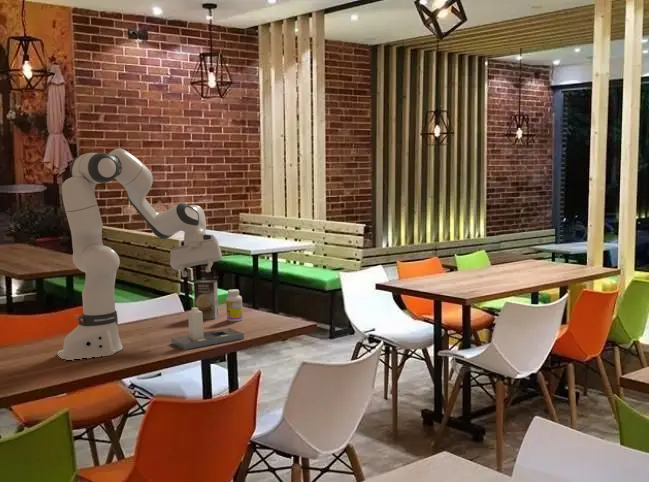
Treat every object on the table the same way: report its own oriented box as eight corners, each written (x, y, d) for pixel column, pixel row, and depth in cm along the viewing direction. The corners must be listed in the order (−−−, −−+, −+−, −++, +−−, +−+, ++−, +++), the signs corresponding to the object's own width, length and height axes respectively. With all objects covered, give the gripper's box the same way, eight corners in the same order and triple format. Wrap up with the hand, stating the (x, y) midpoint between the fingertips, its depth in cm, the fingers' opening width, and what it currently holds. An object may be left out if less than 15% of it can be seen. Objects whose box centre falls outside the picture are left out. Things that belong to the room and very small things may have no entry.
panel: (184, 350, 254) (183, 343, 254) (171, 343, 264) (171, 337, 264) (243, 338, 267) (243, 332, 267) (230, 332, 277) (229, 327, 277)
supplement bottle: (225, 319, 301) (224, 289, 300) (241, 317, 303) (239, 288, 302) (228, 322, 295) (226, 292, 294) (244, 320, 297) (242, 290, 295)
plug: (194, 345, 260) (191, 309, 259) (189, 343, 264) (187, 307, 262) (204, 343, 263) (202, 308, 261) (199, 341, 266) (197, 306, 264)
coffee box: (194, 319, 303) (192, 282, 302) (198, 316, 310) (196, 280, 308) (215, 319, 303) (213, 282, 301) (219, 315, 309) (217, 279, 307)
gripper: (167, 244, 278) (167, 275, 271) (217, 234, 276) (218, 265, 269) (173, 252, 283) (173, 282, 276) (222, 242, 281) (223, 272, 274)
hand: (196, 273), depth 273 cm, fingers open, 8 cm apart
